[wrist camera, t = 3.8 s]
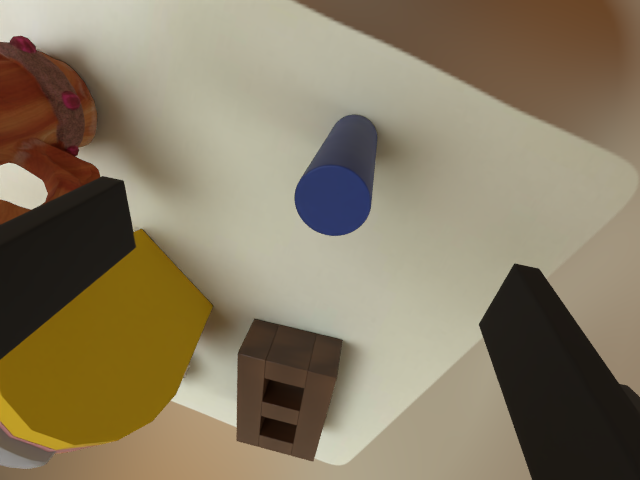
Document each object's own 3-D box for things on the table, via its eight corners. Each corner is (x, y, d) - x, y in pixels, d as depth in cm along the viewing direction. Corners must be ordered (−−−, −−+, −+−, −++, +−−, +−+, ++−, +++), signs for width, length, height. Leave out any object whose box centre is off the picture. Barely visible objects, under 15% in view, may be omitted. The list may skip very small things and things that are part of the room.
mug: (-6, 77, 28) (-336, 105, 15) (34, 6, 24) (-350, -34, 12) (128, 209, 33) (-36, 316, 20) (177, 166, 29) (17, 261, 16)
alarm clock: (85, 245, 36) (-141, 397, 21) (128, 215, 33) (-102, 368, 17) (177, 334, 41) (52, 508, 26) (222, 316, 38) (110, 502, 23)
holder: (342, 339, 37) (336, 378, 33) (319, 423, 46) (313, 461, 42) (254, 318, 37) (237, 353, 33) (249, 405, 47) (236, 441, 43)
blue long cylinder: (382, 119, 24) (379, 173, 14) (371, 165, 26) (361, 243, 16) (334, 110, 24) (298, 157, 14) (327, 156, 26) (290, 227, 16)
